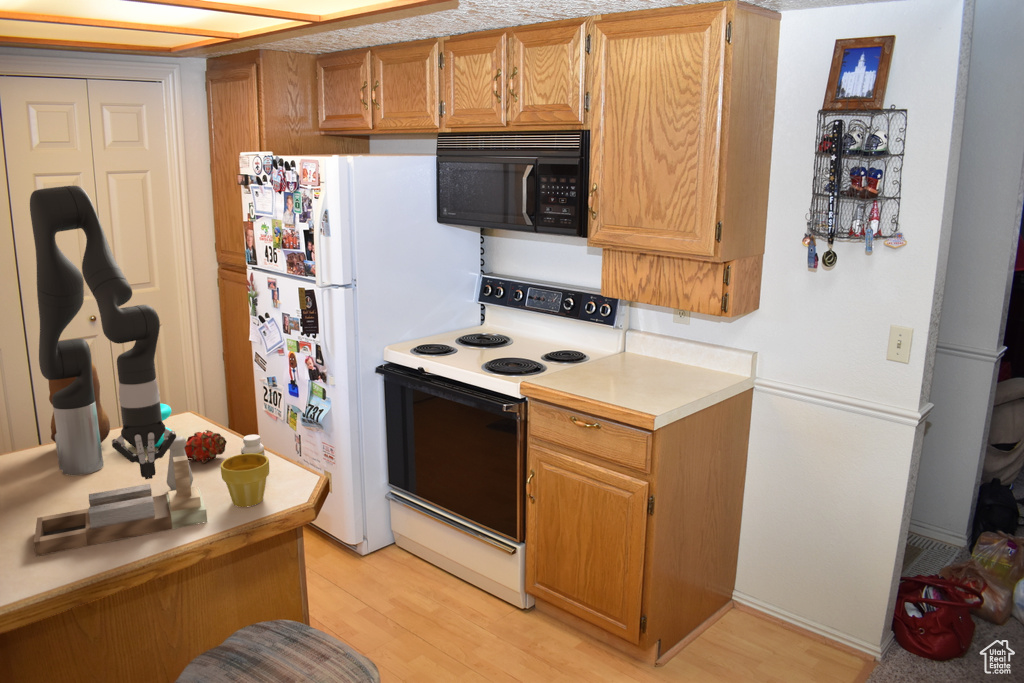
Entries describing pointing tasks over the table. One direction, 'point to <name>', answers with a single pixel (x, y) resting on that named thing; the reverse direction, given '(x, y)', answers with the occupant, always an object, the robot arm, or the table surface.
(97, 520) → the grey slotted block
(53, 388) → the butternut squash
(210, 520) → the table surface
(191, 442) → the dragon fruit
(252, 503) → the plant pot
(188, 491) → the slider block
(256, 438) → the supplement bottle
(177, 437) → the salt shaker
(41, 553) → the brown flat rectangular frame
